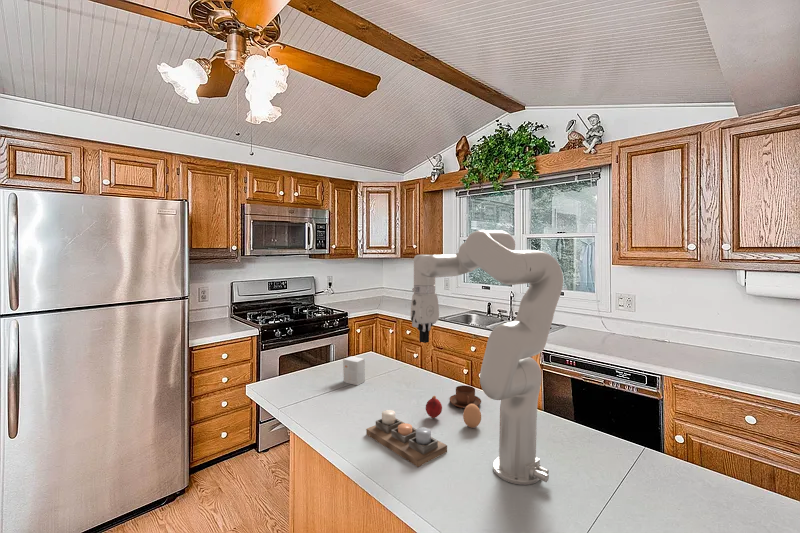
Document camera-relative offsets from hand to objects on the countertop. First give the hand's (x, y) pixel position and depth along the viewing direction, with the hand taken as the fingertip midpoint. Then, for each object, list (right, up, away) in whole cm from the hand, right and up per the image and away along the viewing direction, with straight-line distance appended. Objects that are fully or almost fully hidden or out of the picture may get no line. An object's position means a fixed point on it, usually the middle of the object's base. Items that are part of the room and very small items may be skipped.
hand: (424, 341), depth 136 cm
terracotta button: (-7, -26, -16) cm, 31 cm away
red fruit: (+3, -27, +1) cm, 28 cm away
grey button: (-2, -25, -23) cm, 33 cm away
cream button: (-12, -24, -11) cm, 29 cm away
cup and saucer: (+17, -27, +13) cm, 34 cm away
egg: (+16, -28, -6) cm, 32 cm away
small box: (-29, -25, +36) cm, 53 cm away
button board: (-7, -28, -16) cm, 33 cm away
